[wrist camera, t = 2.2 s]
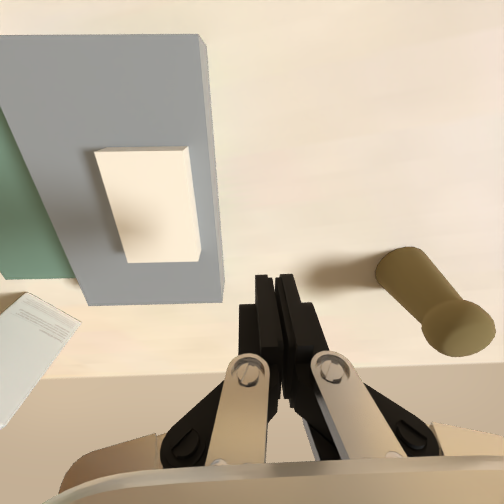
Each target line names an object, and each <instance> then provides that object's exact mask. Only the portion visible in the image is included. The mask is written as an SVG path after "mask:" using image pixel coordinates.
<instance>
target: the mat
mask: <svg viewBox="0 0 504 504" xmlns="http://www.w3.org/2000/svg"><path fill="white" fill-rule="evenodd" d="M0 272H1V273H2V275H3V277H4V278H5V280H10V279H53V278H76V276H75V274H74V272H73V270H72V267H71V265H70V263H69V260H68V258H67V256H66V254H65V251H64V249H63V247H62V245H61V242H60V240H59V238H58V236H57V233H56V231H55V229H54V227H53V224H52V222H51V220H50V217H49V215H48V213H47V211H46V208H45V206H44V204H43V202H42V199H41V197H40V195H39V193H38V190H37V188H36V186H35V184H34V181H33V179H32V177H31V175H30V172H29V170H28V168H27V165H26V163H25V161H24V159H23V156H22V154H21V152H20V150H19V147H18V145H17V143H16V141H15V138H14V136H13V134H12V132H11V129H10V127H9V125H8V123H7V120H6V118H5V116H4V113H3V111H2V109H1V107H0Z"/></svg>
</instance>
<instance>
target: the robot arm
mask: <svg viewBox="0 0 504 504" xmlns="http://www.w3.org/2000/svg"><path fill="white" fill-rule="evenodd" d="M281 382H282V389H283V396H284V399H289V402H290V408H294V410H295V412H296V413H297V414H299V415H300V416H301V417H302V419H303V425H304V427H305V430H306V433H307V437H308V439H309V442H310V446H311V449H312V452H313V454H314V458H315V461H308V462H307V461H306V462H284V463H266V445H267V428H268V422H269V421H270V420H271V419H272V418H273V416H274V415H275V414H276V413H277V407H278V399H280V394H281ZM42 504H504V437H502V436H500V435H497V434H492V433H487V432H482V431H477V430H472V429H467V428H461V427H457V426H451V425H446V424H441V423H436V422H431V424H425V423H424V422H423V421H421V420H420V419H419V418H418V417H416V416H415V415H413V414H412V413H410V412H408V411H407V410H405V409H404V408H402V407H401V406H399V405H397V404H396V403H394V402H393V401H391V400H390V399H388V398H387V397H385V396H383V395H382V394H380V393H379V392H377V391H376V390H374V389H373V388H371V387H370V386H368V385H366V384H365V383H363V382H362V380H361V378H360V377H359V375H358V373H357V372H356V370H355V368H354V367H353V365H352V364H351V363H350V361H349V360H348V359H347V358H346V357H344V356H343V355H341V354H339V353H337V352H333V351H329V348H328V345H327V342H326V340H325V337H324V334H323V331H322V328H321V326H320V323H319V320H318V317H317V314H316V312H315V309H314V306H313V304H312V303H311V302H307V303H301V300H300V297H299V294H298V290H297V287H296V284H295V280H294V277H293V274H280V277H279V278H275V291H274V285H273V279H272V278H268V275H255V304H239V353H238V356H237V357H235V358H234V359H233V360H232V361H231V362H230V363H229V365H228V368H227V371H226V375H225V380H224V381H222V382H221V383H220V384H219V385H218V386H217V387H216V388H215V389H214V390H213V391H212V392H210V393H209V394H208V395H207V396H206V397H205V398H204V399H202V400H201V401H200V402H199V403H198V404H197V405H196V406H195V407H194V408H193V409H192V410H190V411H189V412H188V413H187V414H186V415H185V416H184V417H183V418H181V419H180V420H179V421H178V422H177V423H176V424H175V425H174V426H173V427H172V428H171V429H170V430H169V431H168V432H167V433H164V434H161V435H158V436H157V435H156V433H154V434H150V435H147V436H143V437H140V438H136V439H133V440H130V441H126V442H123V443H119V444H116V445H113V446H109V447H106V448H102V449H99V450H95V451H92V452H90V453H88V454H86V455H83V456H82V457H81V458H79V459H78V460H77V461H76V462H75V463H73V465H72V466H71V467H70V469H69V470H68V471H67V473H66V474H65V476H64V479H63V481H62V483H61V486H60V490H59V493H58V495H56V496H54V497H53V498H51V499H49V500H47V501H45V502H44V503H42Z"/></svg>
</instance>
